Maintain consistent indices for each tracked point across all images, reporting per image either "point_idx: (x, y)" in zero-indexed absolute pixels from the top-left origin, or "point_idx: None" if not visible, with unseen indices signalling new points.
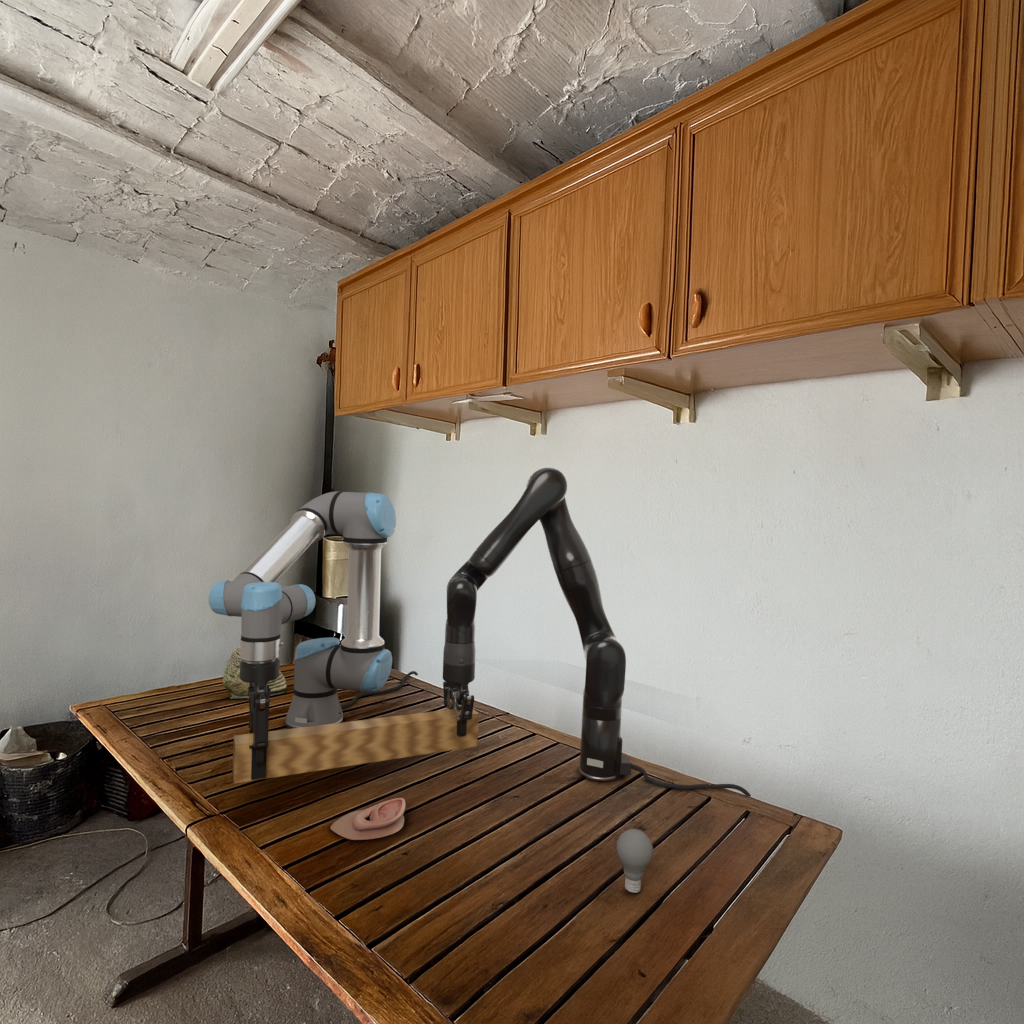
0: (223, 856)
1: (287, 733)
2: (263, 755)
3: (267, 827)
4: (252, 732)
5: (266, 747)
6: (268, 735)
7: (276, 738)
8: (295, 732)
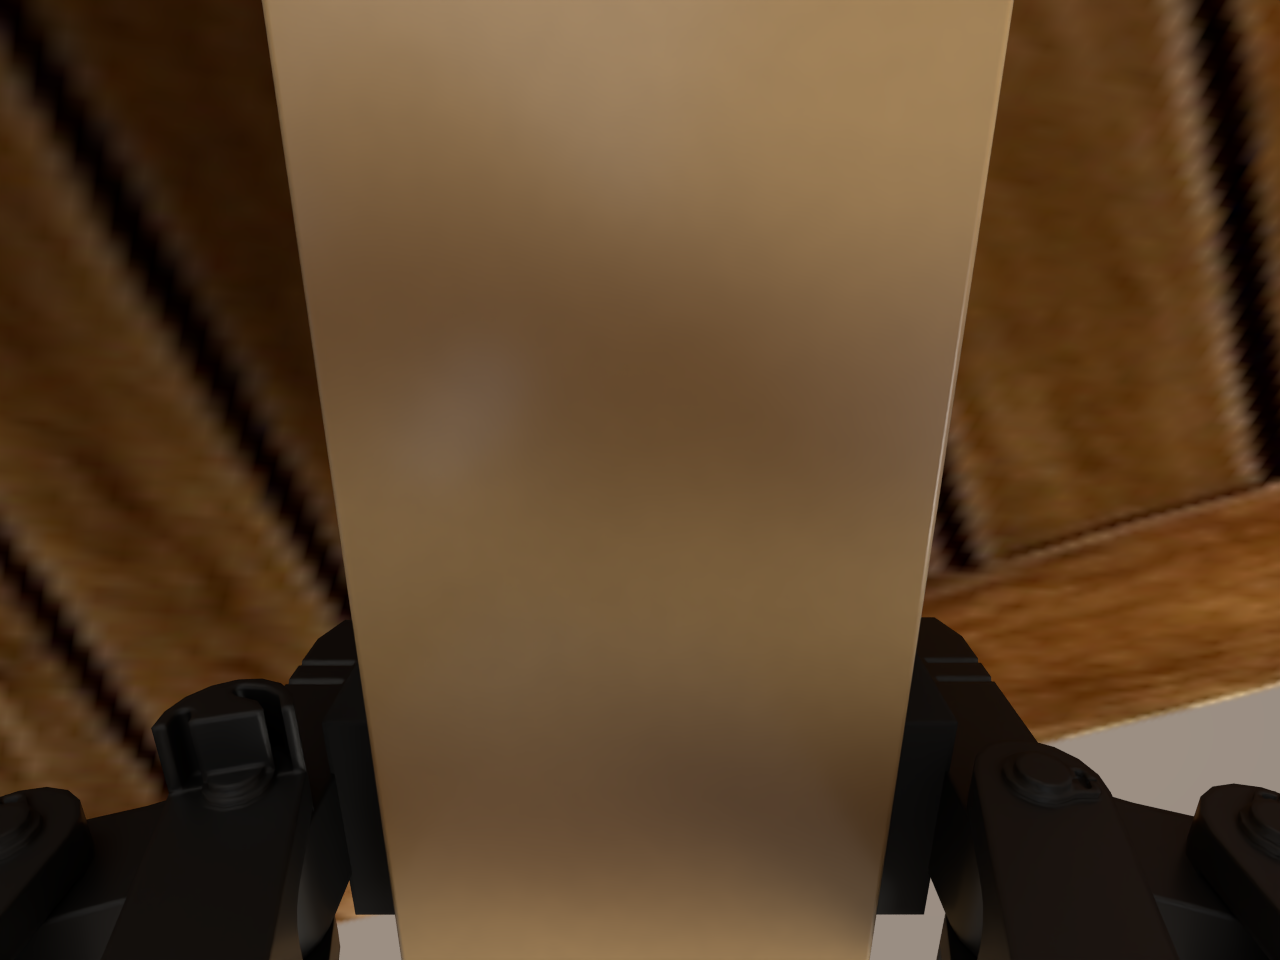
0: (1233, 668)
1: (642, 300)
2: (1001, 694)
3: (1036, 407)
4: (335, 926)
5: (946, 704)
6: (618, 711)
7: (879, 587)
8: (647, 61)
